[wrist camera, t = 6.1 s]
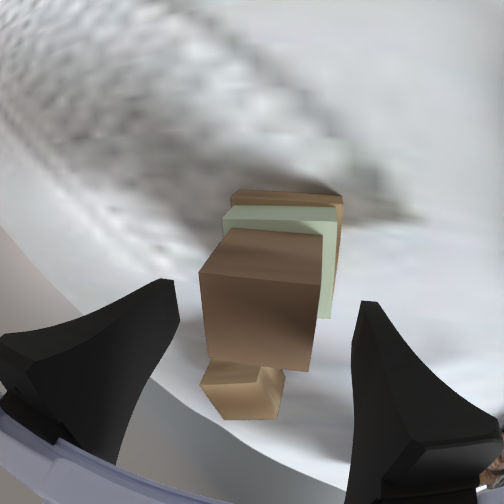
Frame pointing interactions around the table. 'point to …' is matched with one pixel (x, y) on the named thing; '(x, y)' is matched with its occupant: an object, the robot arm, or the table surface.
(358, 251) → the table surface
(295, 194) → the slab bottom
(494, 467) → the bison figurine
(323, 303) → the slab top
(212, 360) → the oak cube
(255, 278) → the walnut cube
